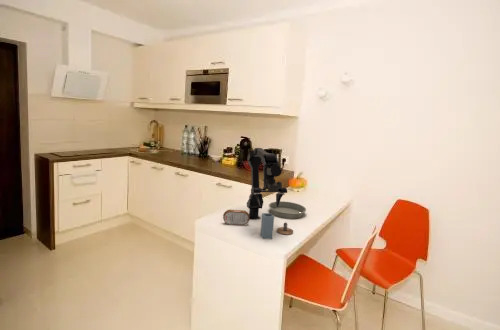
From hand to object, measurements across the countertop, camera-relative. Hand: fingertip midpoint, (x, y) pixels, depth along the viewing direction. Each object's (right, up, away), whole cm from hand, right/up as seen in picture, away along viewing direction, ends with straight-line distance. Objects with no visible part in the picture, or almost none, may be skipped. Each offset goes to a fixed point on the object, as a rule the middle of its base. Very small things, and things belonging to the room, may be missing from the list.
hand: (269, 206), depth 152 cm
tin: (-18, -12, +12) cm, 25 cm away
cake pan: (+14, -10, +38) cm, 42 cm away
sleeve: (-2, -15, -2) cm, 16 cm away
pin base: (+9, -15, +7) cm, 18 cm away
